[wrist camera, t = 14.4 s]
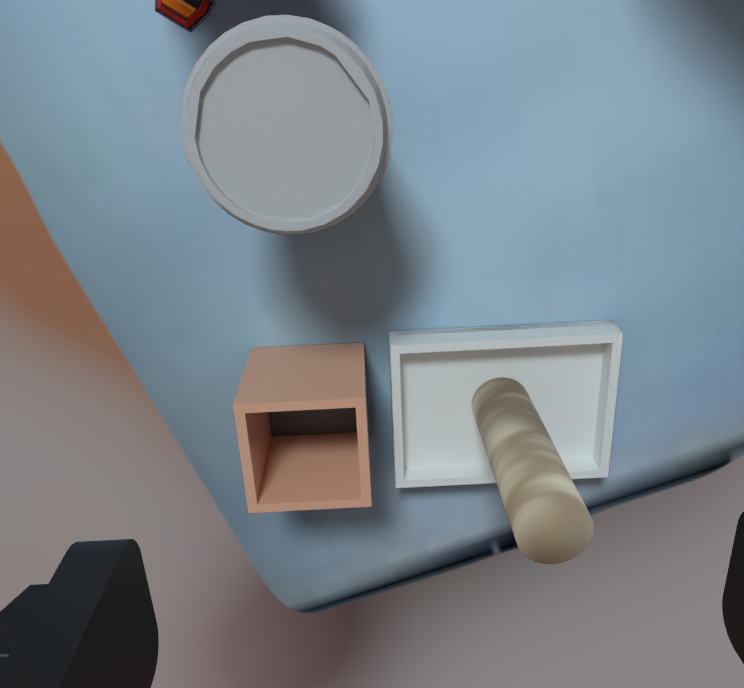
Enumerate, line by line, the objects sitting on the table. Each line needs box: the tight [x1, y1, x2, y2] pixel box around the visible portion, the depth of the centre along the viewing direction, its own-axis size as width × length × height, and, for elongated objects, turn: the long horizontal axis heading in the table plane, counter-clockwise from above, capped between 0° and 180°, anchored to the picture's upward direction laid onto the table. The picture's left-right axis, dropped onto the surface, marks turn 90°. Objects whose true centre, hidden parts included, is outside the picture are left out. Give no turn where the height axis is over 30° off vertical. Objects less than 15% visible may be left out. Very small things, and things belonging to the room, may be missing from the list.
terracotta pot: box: [233, 342, 372, 513], centre depth 45 cm, size 8×8×8 cm
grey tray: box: [389, 320, 623, 488], centre depth 48 cm, size 15×11×2 cm
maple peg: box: [471, 377, 594, 564], centre depth 42 cm, size 4×4×14 cm
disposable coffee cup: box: [180, 15, 393, 235], centre depth 36 cm, size 10×10×12 cm
